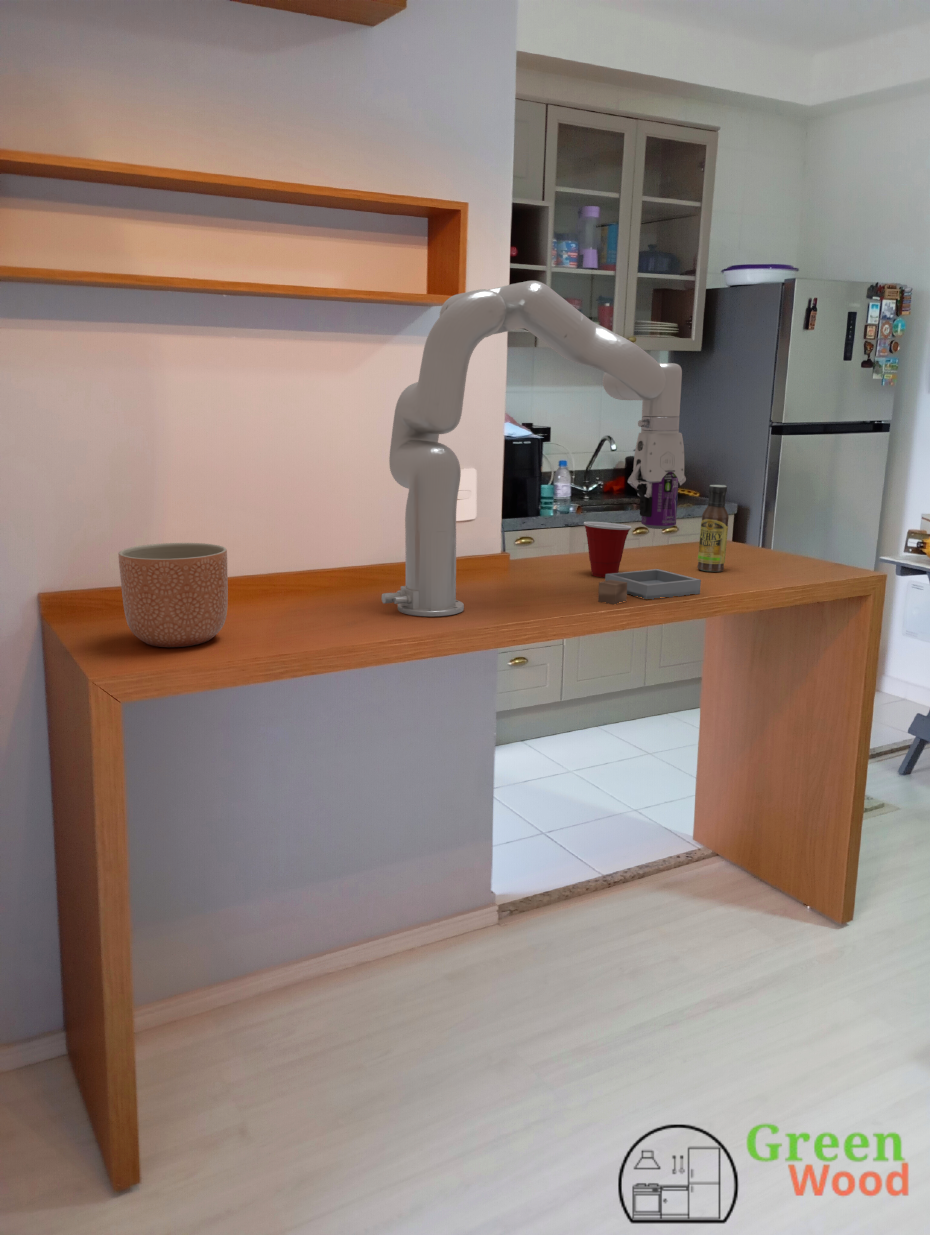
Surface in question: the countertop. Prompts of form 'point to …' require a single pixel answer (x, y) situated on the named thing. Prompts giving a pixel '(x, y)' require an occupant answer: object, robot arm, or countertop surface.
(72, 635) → the countertop surface
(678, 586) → the tray
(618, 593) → the walnut block
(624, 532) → the plastic cup
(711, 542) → the sauce bottle
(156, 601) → the planter
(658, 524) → the beverage can
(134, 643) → the countertop surface
